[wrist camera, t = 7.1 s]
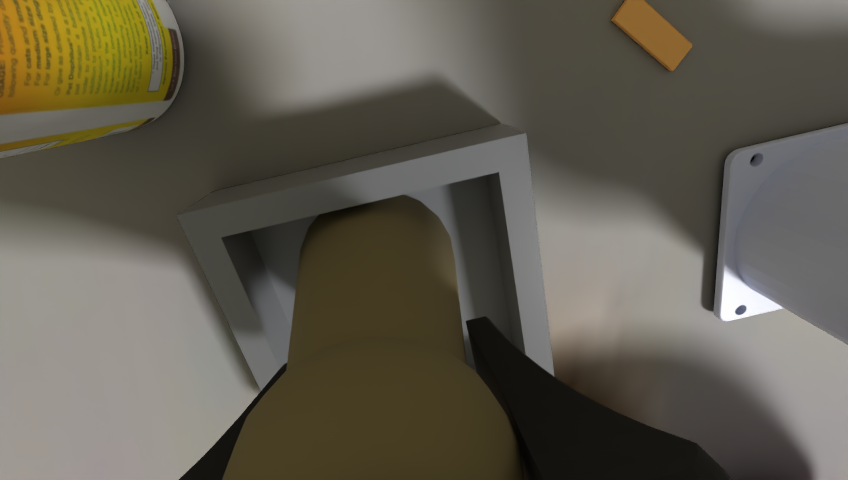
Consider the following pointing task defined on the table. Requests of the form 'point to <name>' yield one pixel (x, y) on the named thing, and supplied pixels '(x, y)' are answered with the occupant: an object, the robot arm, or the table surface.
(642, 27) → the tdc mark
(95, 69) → the supplement bottle
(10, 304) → the table surface
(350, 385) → the olive rounded piece
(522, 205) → the tray
